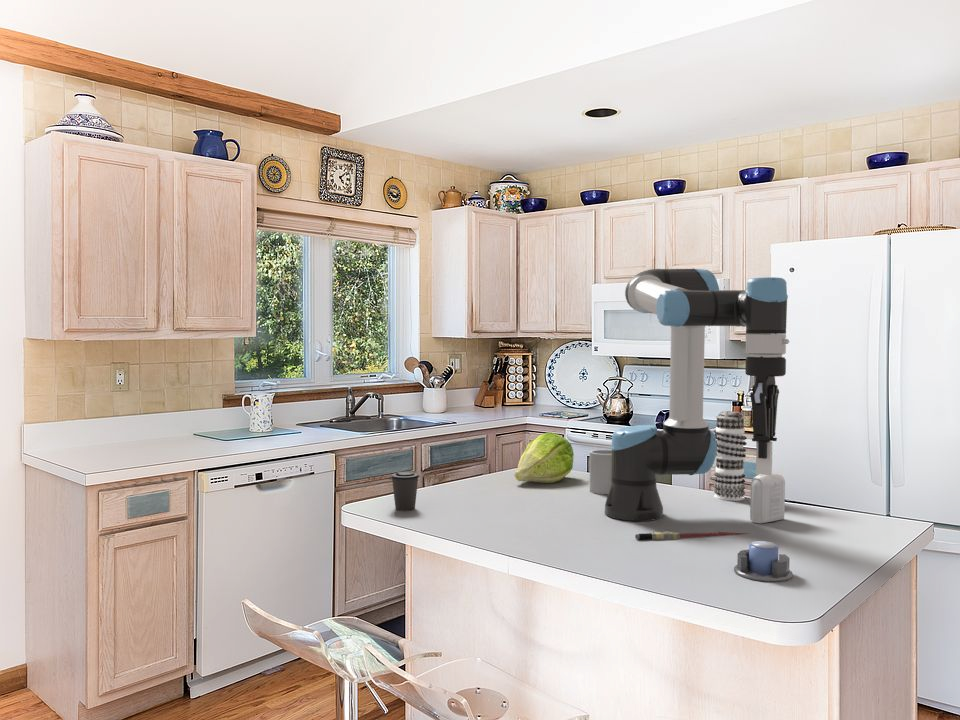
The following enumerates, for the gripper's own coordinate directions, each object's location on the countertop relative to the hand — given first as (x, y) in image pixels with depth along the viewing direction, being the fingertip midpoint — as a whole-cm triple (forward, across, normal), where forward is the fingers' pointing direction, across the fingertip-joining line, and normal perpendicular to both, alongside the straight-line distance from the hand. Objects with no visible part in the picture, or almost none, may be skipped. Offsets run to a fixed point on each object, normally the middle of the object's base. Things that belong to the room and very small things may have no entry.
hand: (763, 473), depth 153 cm
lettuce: (+21, +59, +84) cm, 104 cm away
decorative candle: (+21, +67, +26) cm, 75 cm away
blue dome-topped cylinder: (+20, 0, 0) cm, 20 cm away
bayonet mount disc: (+20, 0, 0) cm, 20 cm away
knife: (+21, +20, +22) cm, 36 cm away
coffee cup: (+21, +4, +96) cm, 98 cm away
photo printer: (+21, +45, +10) cm, 50 cm away
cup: (+21, +55, +60) cm, 84 cm away
